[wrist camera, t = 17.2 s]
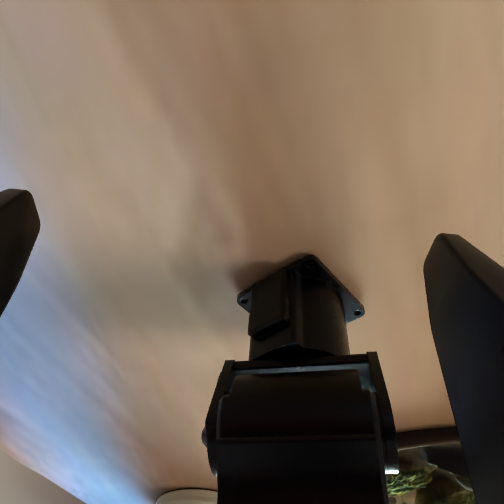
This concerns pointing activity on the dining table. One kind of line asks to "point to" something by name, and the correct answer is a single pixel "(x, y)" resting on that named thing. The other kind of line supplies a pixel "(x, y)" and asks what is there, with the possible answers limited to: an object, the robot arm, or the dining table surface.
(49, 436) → the dining table surface
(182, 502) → the jar
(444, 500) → the salad plate
